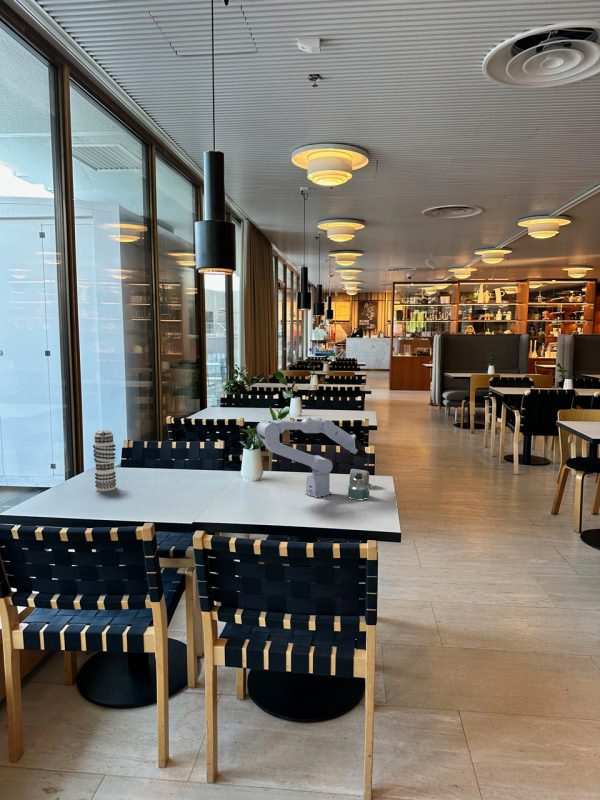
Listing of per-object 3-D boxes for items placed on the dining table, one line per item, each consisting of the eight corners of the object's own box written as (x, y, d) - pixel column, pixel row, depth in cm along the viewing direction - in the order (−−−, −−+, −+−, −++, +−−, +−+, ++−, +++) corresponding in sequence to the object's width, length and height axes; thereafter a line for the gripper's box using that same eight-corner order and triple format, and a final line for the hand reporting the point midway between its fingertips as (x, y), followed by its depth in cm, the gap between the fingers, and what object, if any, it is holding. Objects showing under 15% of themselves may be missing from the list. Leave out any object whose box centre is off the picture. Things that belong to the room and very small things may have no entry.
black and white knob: (358, 491, 223) (358, 476, 222) (348, 488, 227) (348, 473, 226) (368, 489, 226) (368, 474, 225) (358, 486, 230) (358, 471, 230)
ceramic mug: (367, 489, 239) (368, 471, 239) (349, 488, 241) (349, 470, 240) (369, 483, 250) (370, 466, 249) (351, 482, 251) (352, 465, 251)
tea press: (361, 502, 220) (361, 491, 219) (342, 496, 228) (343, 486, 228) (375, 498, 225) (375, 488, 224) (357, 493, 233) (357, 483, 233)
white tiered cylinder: (102, 492, 233) (100, 433, 230) (90, 489, 238) (87, 431, 236) (121, 488, 240) (119, 430, 237) (108, 484, 246) (106, 428, 243)
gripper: (351, 438, 226) (375, 453, 231) (342, 421, 238) (364, 436, 244) (340, 450, 227) (364, 466, 233) (332, 433, 240) (354, 448, 246)
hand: (363, 451), depth 238 cm, fingers open, 7 cm apart
